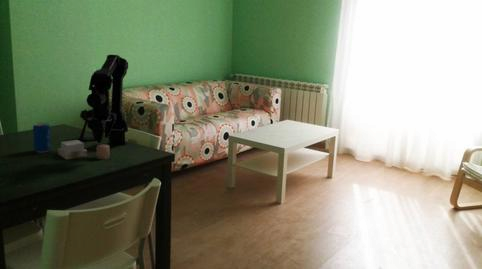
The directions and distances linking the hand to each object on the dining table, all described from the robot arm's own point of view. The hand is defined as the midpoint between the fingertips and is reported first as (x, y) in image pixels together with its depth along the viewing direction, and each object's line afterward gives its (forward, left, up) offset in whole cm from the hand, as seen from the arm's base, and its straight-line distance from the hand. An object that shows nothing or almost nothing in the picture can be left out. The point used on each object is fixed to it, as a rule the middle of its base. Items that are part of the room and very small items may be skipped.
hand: (103, 140), depth 186 cm
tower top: (+9, -10, -5) cm, 14 cm away
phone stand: (-8, -31, -8) cm, 33 cm away
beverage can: (+17, -22, -8) cm, 29 cm away
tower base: (+9, -10, -8) cm, 16 cm away
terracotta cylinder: (0, 0, -8) cm, 8 cm away
